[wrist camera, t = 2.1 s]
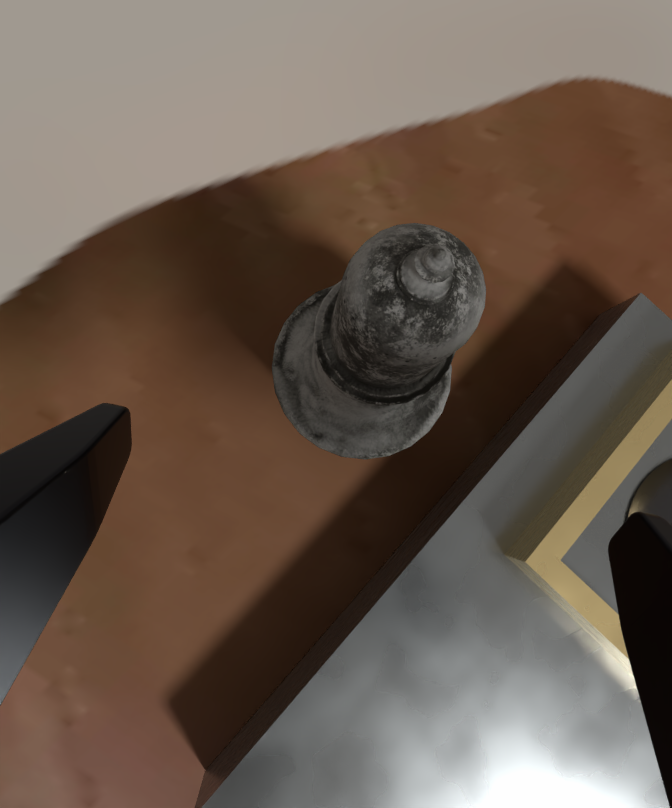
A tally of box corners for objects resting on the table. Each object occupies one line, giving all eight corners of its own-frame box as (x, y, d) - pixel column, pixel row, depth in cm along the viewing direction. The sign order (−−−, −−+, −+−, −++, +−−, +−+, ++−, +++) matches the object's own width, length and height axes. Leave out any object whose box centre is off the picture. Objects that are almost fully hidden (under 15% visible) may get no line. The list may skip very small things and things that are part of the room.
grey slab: (484, 1046, 17) (543, 1218, 13) (205, 771, 17) (181, 856, 13) (834, 527, 21) (961, 539, 17) (600, 314, 21) (671, 276, 17)
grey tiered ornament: (246, 360, 20) (185, 180, 8) (374, 290, 21) (491, 33, 9) (324, 492, 19) (383, 511, 7) (451, 414, 20) (684, 320, 8)
